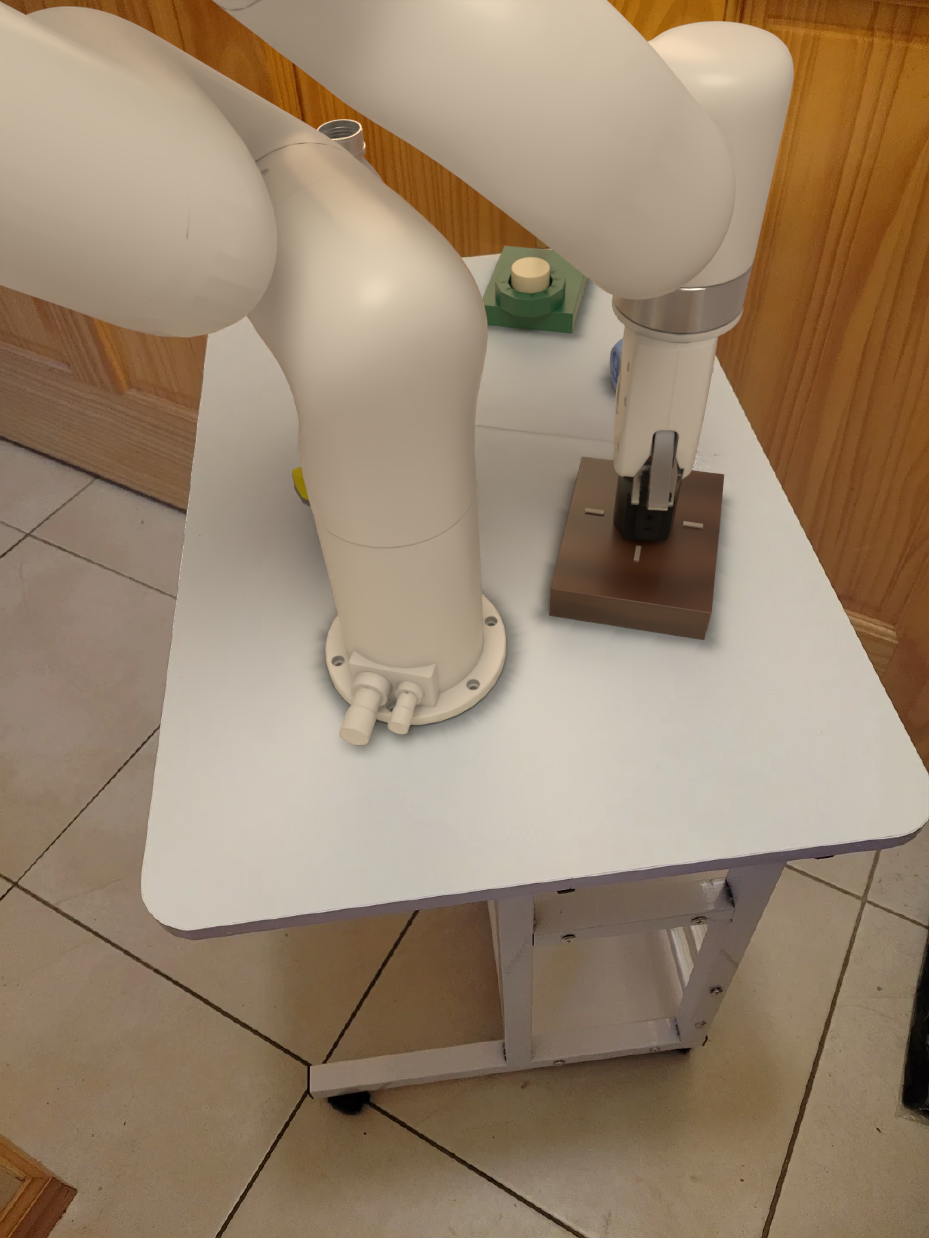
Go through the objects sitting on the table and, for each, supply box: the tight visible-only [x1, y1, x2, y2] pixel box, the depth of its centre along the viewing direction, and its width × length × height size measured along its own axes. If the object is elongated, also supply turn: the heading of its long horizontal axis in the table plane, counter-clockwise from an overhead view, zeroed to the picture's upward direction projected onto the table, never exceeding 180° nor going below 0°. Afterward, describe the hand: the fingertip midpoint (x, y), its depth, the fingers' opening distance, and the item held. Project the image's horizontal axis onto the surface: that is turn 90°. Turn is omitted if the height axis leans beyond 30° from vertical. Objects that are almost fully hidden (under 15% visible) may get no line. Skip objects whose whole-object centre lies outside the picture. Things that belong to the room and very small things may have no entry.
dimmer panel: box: [548, 456, 725, 641], centre depth 66 cm, size 14×11×3 cm
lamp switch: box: [511, 257, 550, 293], centre depth 84 cm, size 4×4×2 cm
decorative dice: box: [609, 337, 623, 391], centre depth 79 cm, size 4×4×4 cm
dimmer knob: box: [613, 456, 682, 532], centre depth 64 cm, size 4×4×5 cm
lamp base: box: [482, 245, 589, 334], centre depth 88 cm, size 12×9×4 cm
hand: (644, 509), depth 65 cm, fingers closed on dimmer knob, 4 cm apart
